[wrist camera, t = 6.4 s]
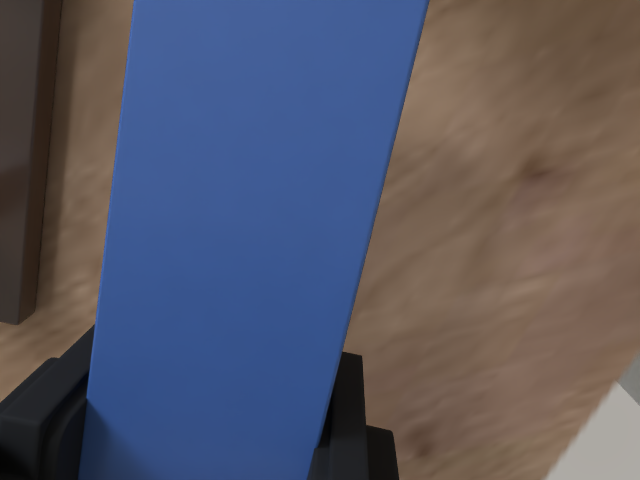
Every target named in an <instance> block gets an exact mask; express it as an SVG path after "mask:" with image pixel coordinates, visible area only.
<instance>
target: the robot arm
mask: <svg viewBox="0 0 640 480" xmlns="http://www.w3.org/2000/svg"><path fill="white" fill-rule="evenodd" d="M94 330H95V324H94V325H93V326H92V327H91V328H90V329H89V330H88V331H87V332H86V333H85V334H84V335H83V336H82V337H81V338H80V339H79V340H78V341H77V342H76V343H74V344H73V345H72V346H71V347H70V348H69V349H68V350H67V351H66V352H65V353H64V354H63V355H62V356H61V357H60V358H50V359H48V360H47V361H45V362H44V363H43V364H42V365H41V366H40V367H39V368H38V369H36V370H35V371H34V372H33V373H32V374H31V375H30V376H29V377H28V378H27V379H26V380H24V381H23V382H22V383H21V384H20V385H19V386H18V387H17V388H16V389H15V390H14V391H12V392H11V393H10V394H9V395H8V396H7V397H6V398H5V399H4V400H3V401H2V402H0V480H78V473H79V464H80V456H81V448H82V439H83V431H84V423H85V415H86V406H87V398H86V397H87V388H88V380H89V371H90V363H91V355H92V346H93V338H94ZM307 480H399V474H398V466H397V459H396V451H395V443H394V436H393V432H392V431H391V430H386V429H382V428H377V427H372V426H368V425H366V416H365V398H364V380H363V361H362V356H361V355H356V354H352V353H347V352H343V351H342V354H341V358H340V362H339V366H338V370H337V374H336V378H335V382H334V386H333V390H332V394H331V398H330V402H329V406H328V410H327V415H326V419H325V423H324V427H323V431H322V435H321V439H320V443H319V446H318V448H314V452H313V456H312V460H311V464H310V468H309V472H308V476H307Z"/></svg>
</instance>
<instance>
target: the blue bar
mask: <svg viewBox="0 0 640 480" xmlns="http://www.w3.org/2000/svg"><path fill="white" fill-rule="evenodd" d="M429 1H430V0H134V4H133V13H132V21H131V29H130V38H129V46H128V54H127V63H126V71H125V80H124V88H123V96H122V105H121V113H120V121H119V130H118V138H117V146H116V155H115V163H114V171H113V180H112V188H111V196H110V205H109V213H108V221H107V230H106V238H105V246H104V255H103V263H102V271H101V280H100V288H99V296H98V305H97V313H96V321H95V330H94V338H93V346H92V355H91V363H90V371H89V380H88V388H87V397H86V398H87V406H86V415H85V423H84V431H83V439H82V448H81V456H80V464H79V473H78V480H307V476H308V472H309V468H310V464H311V460H312V456H313V452H314V448H318V446H319V443H320V439H321V435H322V431H323V427H324V423H325V419H326V415H327V410H328V406H329V402H330V398H331V394H332V390H333V386H334V382H335V378H336V374H337V370H338V366H339V362H340V358H341V354H342V350H343V346H344V342H345V338H346V334H347V330H348V326H349V322H350V318H351V314H352V310H353V306H354V302H355V298H356V294H357V290H358V286H359V282H360V278H361V274H362V270H363V266H364V262H365V258H366V254H367V250H368V246H369V242H370V238H371V234H372V230H373V226H374V222H375V218H376V214H377V210H378V206H379V202H380V198H381V194H382V190H383V186H384V181H385V177H386V173H387V169H388V165H389V161H390V157H391V153H392V149H393V145H394V141H395V137H396V133H397V129H398V125H399V121H400V117H401V113H402V109H403V105H404V101H405V97H406V93H407V89H408V85H409V81H410V77H411V73H412V69H413V65H414V61H415V57H416V53H417V49H418V45H419V41H420V37H421V33H422V29H423V25H424V21H425V17H426V13H427V9H428V5H429Z"/></svg>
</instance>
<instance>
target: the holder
mask: <svg viewBox="0 0 640 480" xmlns="http://www.w3.org/2000/svg"><path fill="white" fill-rule="evenodd" d="M61 2H62V0H0V322H4V323H9V324H14V325H19V324H20V323H22V322H23V321H24V320H25V319H27V318H28V317H29V316H30V315H32V314H33V313H34V312H35V301H36V289H37V278H38V266H39V255H40V243H41V232H42V220H43V209H44V197H45V186H46V174H47V163H48V151H49V140H50V128H51V117H52V105H53V94H54V82H55V71H56V60H57V48H58V37H59V25H60V14H61Z"/></svg>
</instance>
